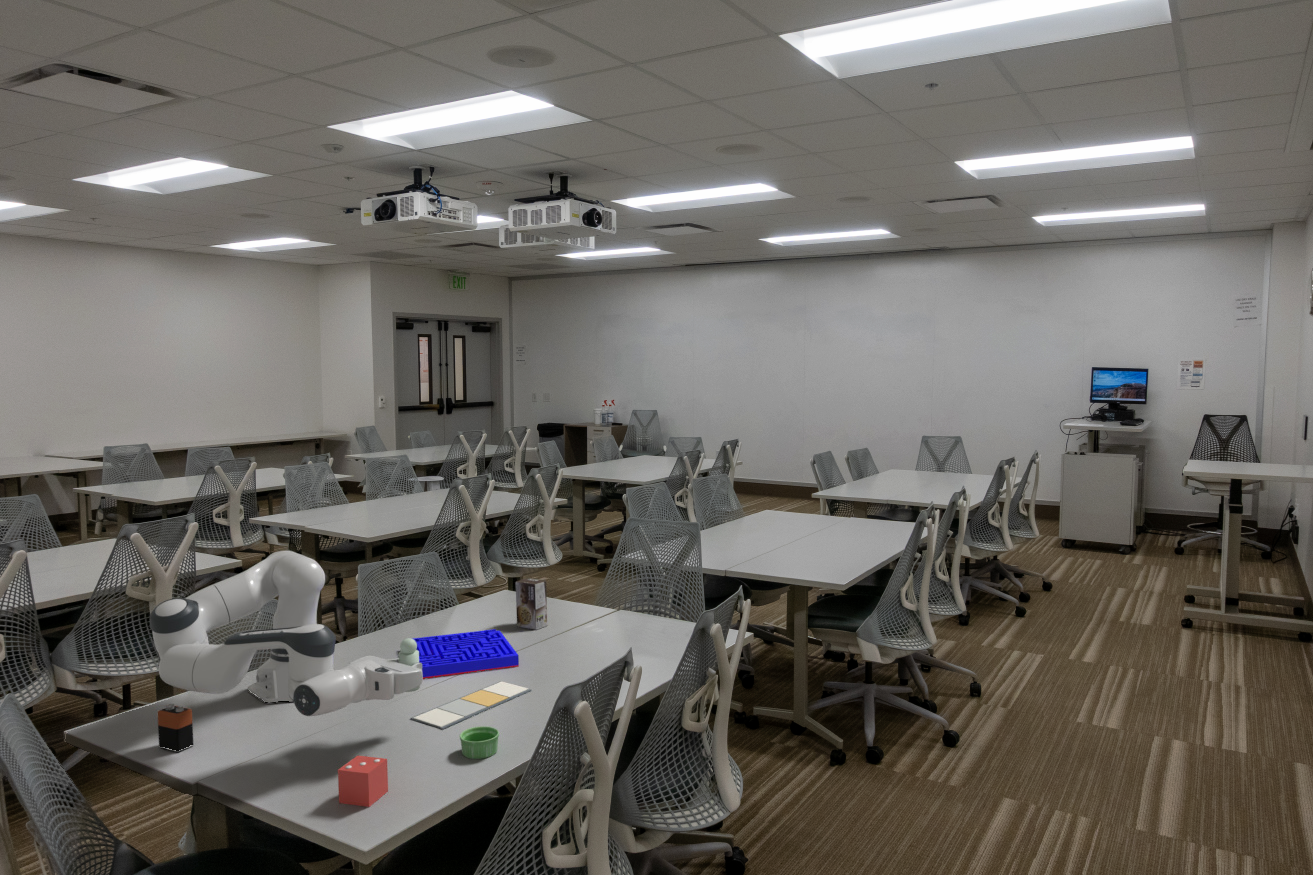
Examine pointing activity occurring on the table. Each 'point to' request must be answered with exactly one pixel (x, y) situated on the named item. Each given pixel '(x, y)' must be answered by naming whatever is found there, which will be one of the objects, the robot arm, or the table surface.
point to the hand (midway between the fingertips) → (411, 663)
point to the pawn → (409, 654)
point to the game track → (470, 705)
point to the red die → (363, 781)
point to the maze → (465, 653)
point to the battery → (175, 727)
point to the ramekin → (479, 742)
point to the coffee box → (531, 603)
